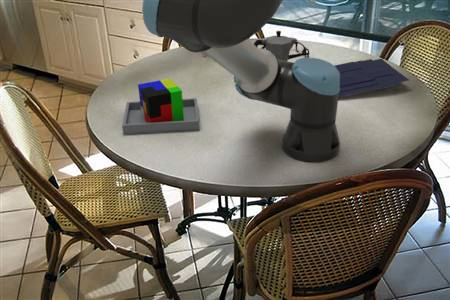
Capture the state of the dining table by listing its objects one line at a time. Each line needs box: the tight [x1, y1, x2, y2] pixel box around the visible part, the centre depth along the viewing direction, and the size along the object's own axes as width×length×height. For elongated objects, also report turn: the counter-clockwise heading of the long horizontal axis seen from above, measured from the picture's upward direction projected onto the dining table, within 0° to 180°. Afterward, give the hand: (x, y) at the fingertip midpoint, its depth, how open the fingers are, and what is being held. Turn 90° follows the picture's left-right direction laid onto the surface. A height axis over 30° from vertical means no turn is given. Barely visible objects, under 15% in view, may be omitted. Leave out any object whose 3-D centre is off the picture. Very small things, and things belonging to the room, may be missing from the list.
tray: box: [121, 97, 200, 136], centre depth 145 cm, size 16×22×3 cm
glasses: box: [260, 41, 310, 61], centre depth 188 cm, size 17×18×5 cm
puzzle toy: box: [137, 78, 184, 123], centre depth 143 cm, size 10×10×10 cm
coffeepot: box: [253, 30, 299, 61], centre depth 164 cm, size 15×9×18 cm, turn 101°
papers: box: [333, 58, 410, 99], centre depth 166 cm, size 24×30×4 cm
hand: (286, 3), depth 125 cm, fingers open, 13 cm apart
